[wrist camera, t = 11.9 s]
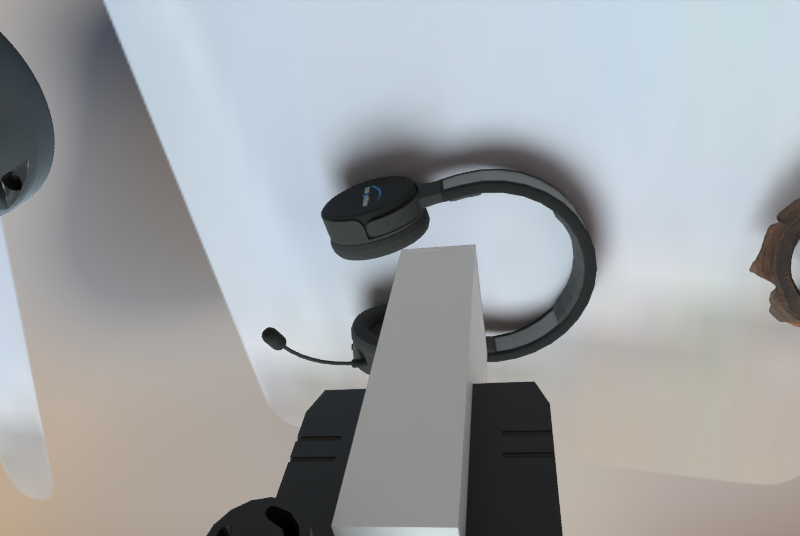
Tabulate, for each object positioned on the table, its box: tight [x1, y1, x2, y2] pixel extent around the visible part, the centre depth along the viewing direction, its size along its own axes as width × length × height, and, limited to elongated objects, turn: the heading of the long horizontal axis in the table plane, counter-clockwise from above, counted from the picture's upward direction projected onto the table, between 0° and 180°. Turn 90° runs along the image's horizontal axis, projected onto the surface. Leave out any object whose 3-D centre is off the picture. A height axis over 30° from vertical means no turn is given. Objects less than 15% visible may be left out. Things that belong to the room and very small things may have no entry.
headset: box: [262, 169, 597, 375], centre depth 40 cm, size 14×10×20 cm
